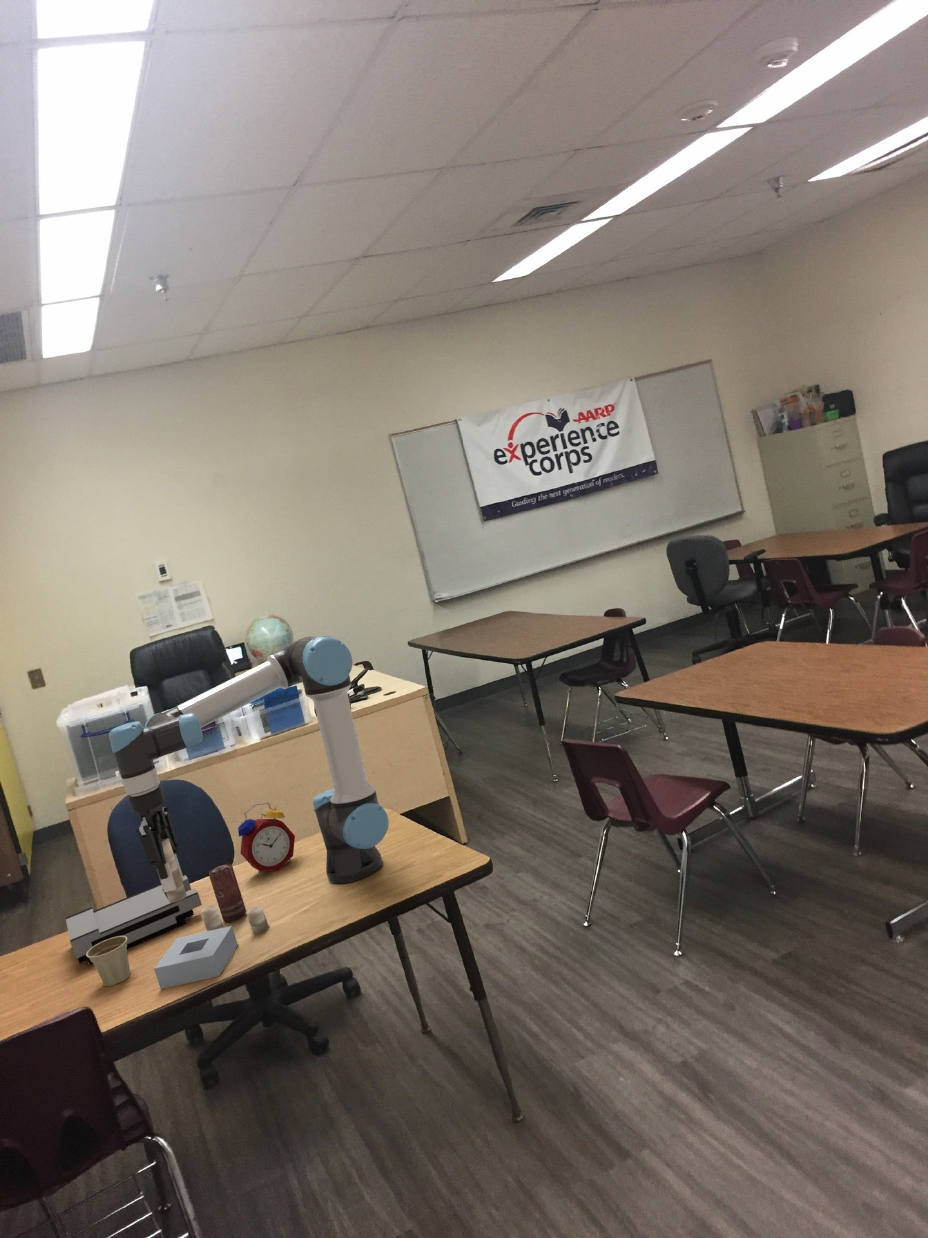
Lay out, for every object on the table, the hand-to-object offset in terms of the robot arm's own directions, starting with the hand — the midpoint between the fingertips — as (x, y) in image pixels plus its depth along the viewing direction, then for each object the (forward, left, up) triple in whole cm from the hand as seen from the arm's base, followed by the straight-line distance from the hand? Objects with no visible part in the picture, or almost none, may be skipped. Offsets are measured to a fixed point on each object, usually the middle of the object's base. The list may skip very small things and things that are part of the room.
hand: (174, 885), depth 211 cm
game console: (+28, -30, -21) cm, 46 cm away
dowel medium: (0, -13, -20) cm, 24 cm away
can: (-1, -24, -20) cm, 32 cm away
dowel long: (0, 0, -3) cm, 3 cm away
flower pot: (+22, -3, -21) cm, 30 cm away
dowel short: (-11, -13, -20) cm, 27 cm away
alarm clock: (-3, -54, -21) cm, 58 cm away
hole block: (0, 0, -20) cm, 20 cm away
